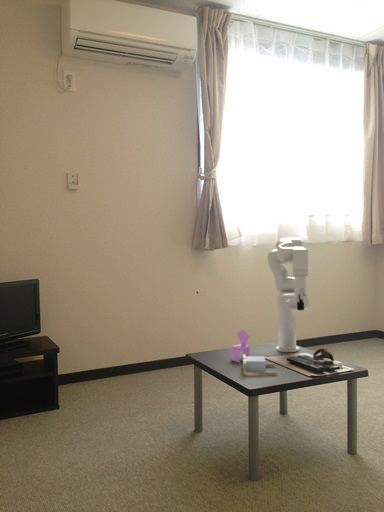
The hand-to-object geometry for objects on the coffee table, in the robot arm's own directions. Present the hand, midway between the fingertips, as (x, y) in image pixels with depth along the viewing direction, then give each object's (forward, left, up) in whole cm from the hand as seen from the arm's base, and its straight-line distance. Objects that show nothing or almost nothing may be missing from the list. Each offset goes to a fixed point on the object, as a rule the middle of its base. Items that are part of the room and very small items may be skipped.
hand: (300, 309), depth 236 cm
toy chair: (-5, -30, -27) cm, 41 cm away
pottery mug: (-1, +12, -27) cm, 30 cm away
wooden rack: (+14, -21, -27) cm, 37 cm away
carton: (+14, -23, -27) cm, 38 cm away
